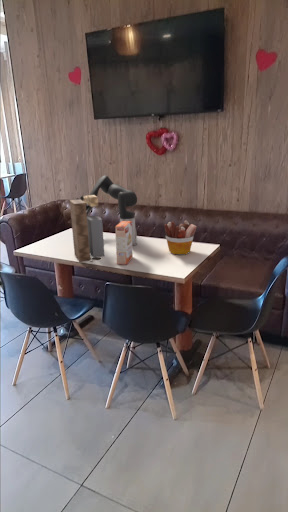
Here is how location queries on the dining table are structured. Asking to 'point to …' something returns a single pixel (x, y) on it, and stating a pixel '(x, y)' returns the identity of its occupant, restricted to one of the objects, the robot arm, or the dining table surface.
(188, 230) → the bucket of meat
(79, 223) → the wooden block
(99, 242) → the step
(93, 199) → the tan wooden molding strip
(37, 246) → the dining table surface
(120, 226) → the cracker box
